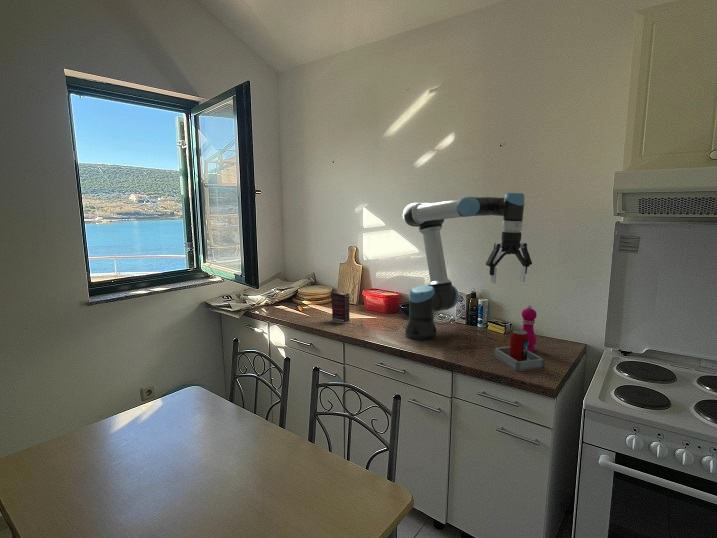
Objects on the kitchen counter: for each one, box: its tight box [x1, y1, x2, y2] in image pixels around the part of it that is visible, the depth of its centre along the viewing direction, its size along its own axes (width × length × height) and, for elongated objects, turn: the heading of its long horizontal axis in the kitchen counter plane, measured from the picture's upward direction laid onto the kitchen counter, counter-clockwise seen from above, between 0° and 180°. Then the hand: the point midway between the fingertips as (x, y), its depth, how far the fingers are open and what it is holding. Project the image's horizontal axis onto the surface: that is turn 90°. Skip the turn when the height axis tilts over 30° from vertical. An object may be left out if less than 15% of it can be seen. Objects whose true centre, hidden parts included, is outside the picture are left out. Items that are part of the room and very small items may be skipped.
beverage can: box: [509, 329, 529, 361], centre depth 163 cm, size 7×7×12 cm
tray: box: [492, 345, 546, 372], centre depth 164 cm, size 16×12×4 cm
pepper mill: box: [521, 304, 538, 353], centre depth 176 cm, size 7×7×20 cm
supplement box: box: [331, 291, 351, 325], centre depth 218 cm, size 9×5×16 cm, turn 56°
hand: (507, 282), depth 169 cm, fingers open, 13 cm apart
